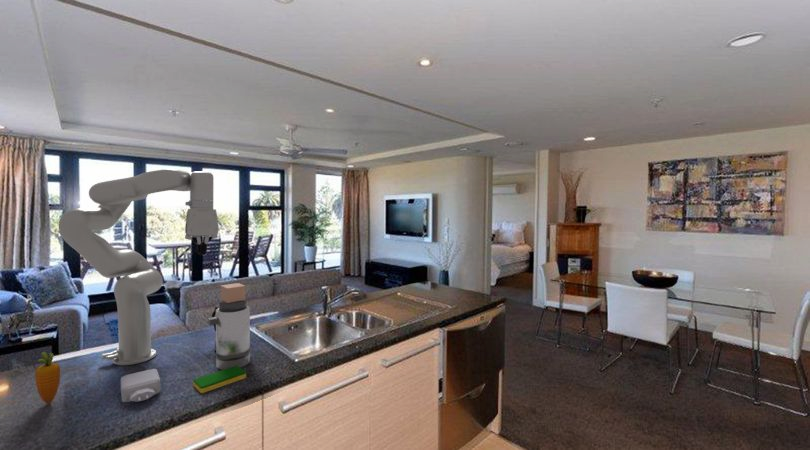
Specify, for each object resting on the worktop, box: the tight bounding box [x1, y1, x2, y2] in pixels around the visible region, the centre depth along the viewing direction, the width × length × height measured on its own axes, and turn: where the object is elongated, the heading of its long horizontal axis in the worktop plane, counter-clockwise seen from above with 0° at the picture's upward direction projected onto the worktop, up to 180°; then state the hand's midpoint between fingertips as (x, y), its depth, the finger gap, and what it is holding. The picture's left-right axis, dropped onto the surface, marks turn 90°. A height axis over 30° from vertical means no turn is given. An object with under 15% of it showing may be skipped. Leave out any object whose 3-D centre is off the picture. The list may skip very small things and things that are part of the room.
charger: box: [120, 368, 162, 403], centre depth 105 cm, size 5×9×15 cm
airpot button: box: [220, 282, 246, 303], centre depth 127 cm, size 6×6×5 cm
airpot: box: [207, 297, 251, 371], centre depth 126 cm, size 14×11×27 cm
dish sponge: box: [192, 366, 247, 394], centre depth 114 cm, size 7×14×2 cm, turn 139°
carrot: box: [34, 351, 61, 405], centre depth 100 cm, size 5×5×15 cm
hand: (201, 254), depth 131 cm, fingers closed
